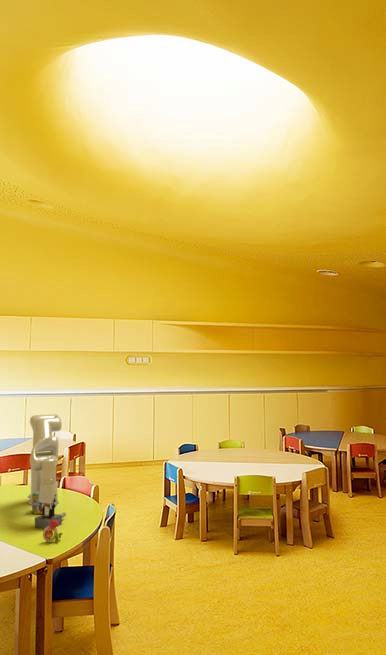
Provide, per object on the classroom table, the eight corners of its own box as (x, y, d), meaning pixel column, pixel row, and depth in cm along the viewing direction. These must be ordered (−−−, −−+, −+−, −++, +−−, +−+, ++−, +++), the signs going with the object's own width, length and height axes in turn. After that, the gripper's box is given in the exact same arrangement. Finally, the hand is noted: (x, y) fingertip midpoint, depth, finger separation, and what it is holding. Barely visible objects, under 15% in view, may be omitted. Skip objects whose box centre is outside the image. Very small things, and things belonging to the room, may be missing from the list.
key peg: (48, 520, 251) (48, 500, 252) (54, 521, 249) (54, 501, 250) (42, 522, 247) (42, 502, 248) (48, 524, 245) (48, 504, 246)
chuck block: (34, 527, 246) (34, 517, 247) (58, 518, 261) (58, 509, 261) (47, 530, 241) (47, 520, 242) (70, 520, 256) (70, 511, 257)
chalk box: (45, 514, 267) (45, 489, 269) (31, 514, 269) (31, 488, 270) (53, 510, 276) (53, 485, 278) (39, 509, 278) (40, 484, 279)
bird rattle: (46, 549, 221) (64, 540, 223) (37, 528, 221) (55, 519, 223) (48, 544, 227) (65, 535, 229) (39, 524, 227) (56, 515, 229)
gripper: (32, 481, 251) (32, 515, 249) (54, 484, 243) (54, 519, 241) (43, 478, 258) (42, 511, 256) (65, 481, 249) (64, 515, 248)
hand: (48, 514), depth 249 cm, fingers open, 4 cm apart
